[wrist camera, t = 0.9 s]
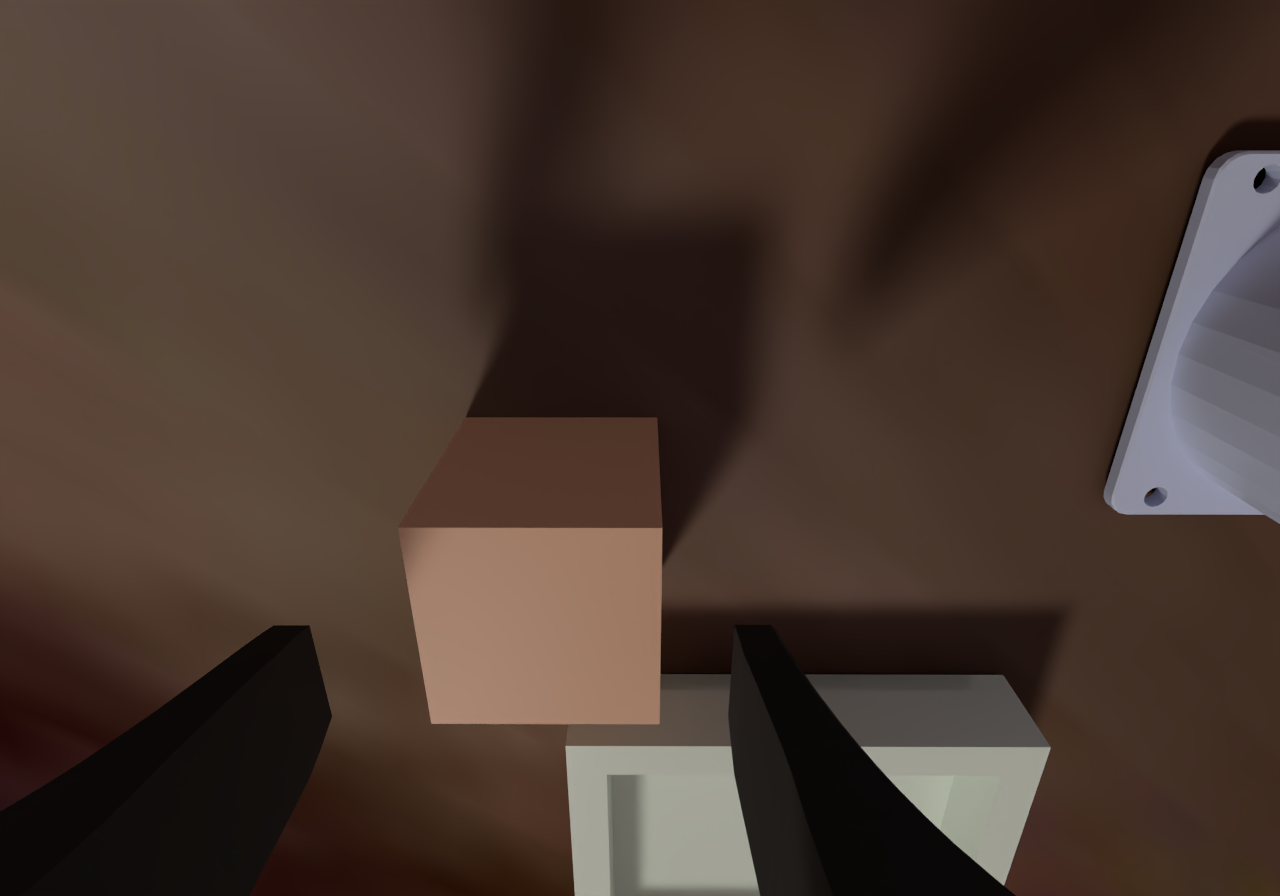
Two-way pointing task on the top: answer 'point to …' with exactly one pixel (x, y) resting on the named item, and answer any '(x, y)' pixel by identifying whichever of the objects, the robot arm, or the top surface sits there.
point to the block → (540, 572)
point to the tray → (708, 797)
